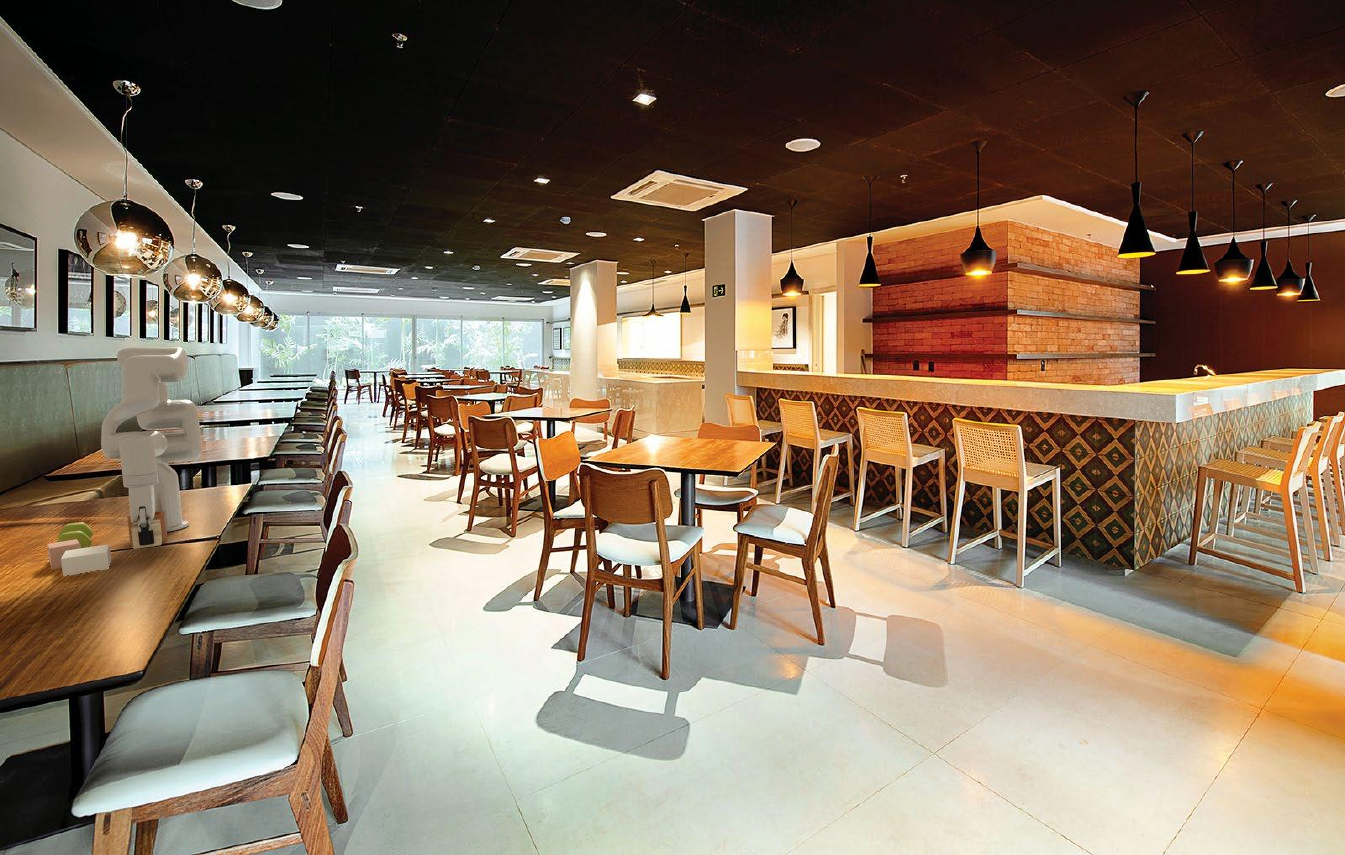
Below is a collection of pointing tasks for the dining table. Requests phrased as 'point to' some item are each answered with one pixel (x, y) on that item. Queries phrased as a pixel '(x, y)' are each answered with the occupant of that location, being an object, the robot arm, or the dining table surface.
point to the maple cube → (156, 532)
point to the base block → (86, 560)
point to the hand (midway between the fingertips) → (147, 540)
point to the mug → (157, 516)
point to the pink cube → (60, 551)
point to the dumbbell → (76, 534)
